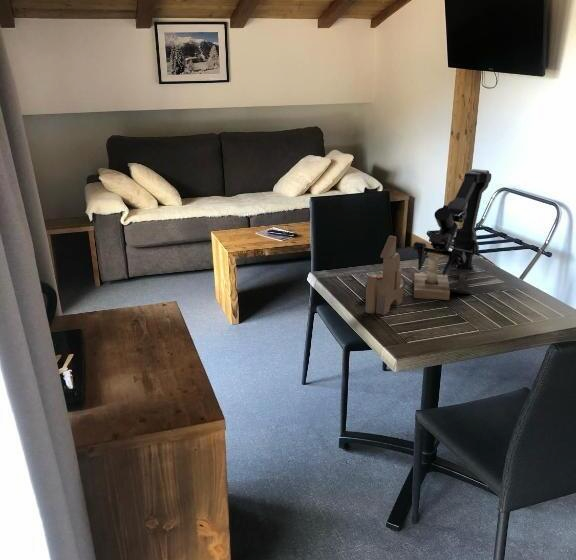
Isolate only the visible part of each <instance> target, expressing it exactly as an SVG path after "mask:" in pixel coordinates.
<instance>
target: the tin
mask: <svg viewBox="0 0 576 560" xmlns="http://www.w3.org/2000/svg"><path fill="white" fill-rule="evenodd" d="M375 275H376V276H377V286H376V300H377V287H378V286H379V284H380V282H381V280H382V275H383V273H380V274H375ZM400 285H403V291H404V290H405V287H406V280H405V278H404V277H403V276H402V275H401V282H400ZM366 289H367V281H366V282H365V285H364V291H365V292H366Z"/></svg>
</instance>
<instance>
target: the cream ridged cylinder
mask: <svg viewBox="0 0 576 560" xmlns="http://www.w3.org/2000/svg"><path fill="white" fill-rule="evenodd" d="M427 259H428V260H427V268H426V269H427V270H426V274H427V280H426V284H435V285H436V283H437V274H438V273H439V271H438V270H439V259H440V257H439V255H438V256H436V255H429V256H428V258H427Z"/></svg>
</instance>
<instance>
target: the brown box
mask: <svg viewBox="0 0 576 560" xmlns="http://www.w3.org/2000/svg"><path fill="white" fill-rule="evenodd" d="M413 278H414V279H413V299H426V300H427V299H428V300H439V301H441V300H443V301H444V300H445V301H450V295H451V292H450V289H449V287H450V284H449V277H448V274H445V275H443V274H438V273H437V283H436V285H435V284H426V280H427V273H420V272H419V273H418V272H415V273H414V277H413Z"/></svg>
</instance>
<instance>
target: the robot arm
mask: <svg viewBox="0 0 576 560" xmlns="http://www.w3.org/2000/svg"><path fill="white" fill-rule="evenodd" d="M463 177H464V178H463V180H462V182H461V185H460V187H459V189H458V191H457V193H456V195H455V198H454V199H452V200H451V201H449V202H448V204H447V205H446V204H443V206H442V207H440V208H438V209H437V210H436V211H435V212H434V214H433V215H434V218H435V221H436V223H437V225H438V227H439V231H438V232H437V233H436V232H430V234H429V239H428V242H430V247H429V246H427V244H426V242H422V241H415V242H414V243H413V245H412V249H413V251H414V254H416V255H417V256H418V263H417V265H418V267H417V269H418V271H421V270H422V268H423V265H424V263H425V261H426V259H427V255H428V253H430V254H435V255H438V256H439V255H440V256H445V257H448V260H447V262H446V264H445V266H444V269H443V270H442V275H447V274H448V273H449V271H451V270H452V269H454V268H456V269H467V270H474V265H473V257H474V256H475V255H478V254H479V250H480V246H479V243H478V235H477V233H476V231H475V229H476V228H475V227H476V223H477V218H478V214H479V209H480V205H481V200H482V195H483V193H484V192H485V191H486V190H487V189H488V187H489V185H490V183H491V180H492V173H490V170H487V169H476V168H472V169H471V170H469V171H466V172H465V173H464V176H463ZM458 223H461V224H462V227H461V228H460V229H459V230H458V228H459V226H458ZM451 246H453V248H452V249H451V250H450V247H451Z"/></svg>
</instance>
